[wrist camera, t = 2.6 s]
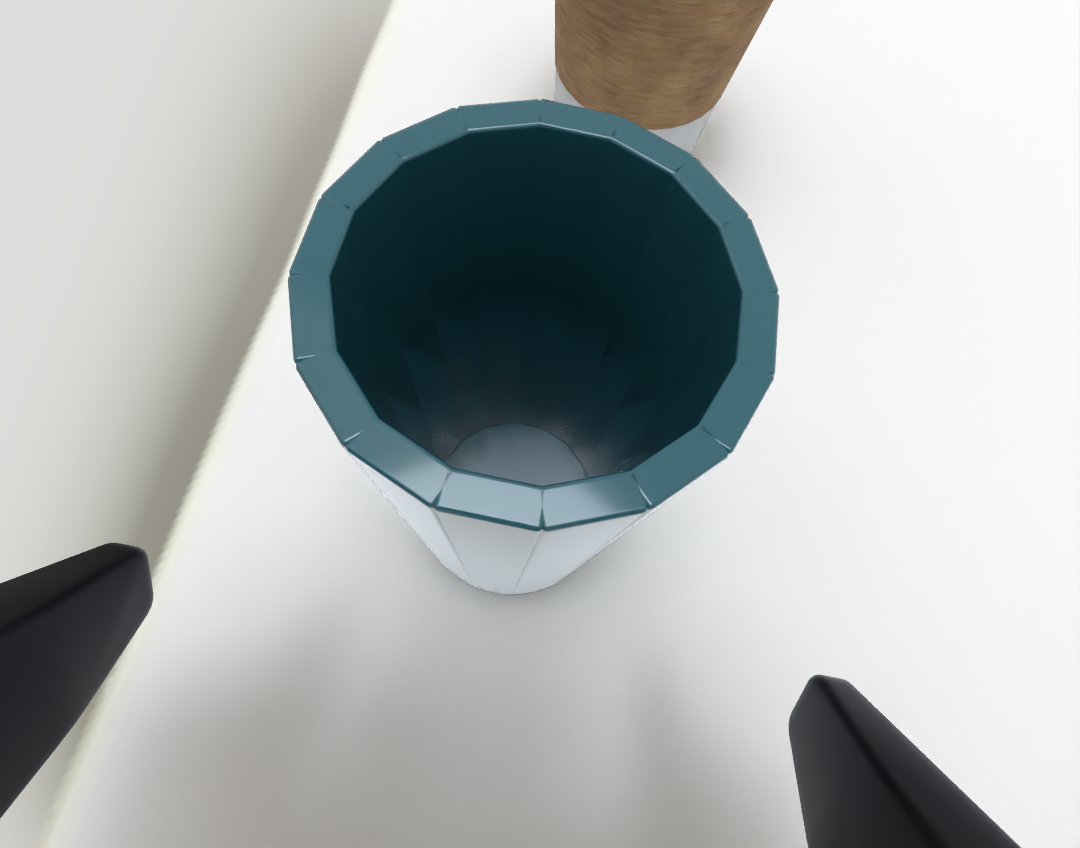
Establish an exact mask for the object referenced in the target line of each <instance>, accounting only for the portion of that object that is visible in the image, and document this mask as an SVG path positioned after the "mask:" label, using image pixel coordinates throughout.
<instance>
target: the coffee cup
mask: <svg viewBox="0 0 1080 848" xmlns="http://www.w3.org/2000/svg"><path fill="white" fill-rule="evenodd" d="M772 1H773V0H555V65H556V77H555V102H559V103H564V104H568V105H573V106H578V107H583V108H588V109H592V110H597V111H602V112H607V113H612V114H616V115H620V116H621V118H627V119H628V120H630V121H632V122H634V123H636V124H638V125H639V126H641V127H643V128H645V129H647V130H648V131H650V132H652V133H654V134H656V135H657V136H659V137H661V138H663V139H665V140H666V141H668V142H670V143H672V144H674V145H676V146H677V147H679V148H681V149H683V150H685V151H686V152H688V153H690V154H691V152H692V150H693V148H694V146H695V144H696V142H697V140H698V138H699V136H700V134H701V132H702V130H703V128H704V126H705V124H706V122H707V120H708V118H709V116H710V114H711V112H712V110H713V108H714V106H715V104H716V103H717V101H718V100H719V99H720V97H721V95H722V94H723V92H724V90H725V88H726V86H727V84H728V83H729V81H730V79H731V77H732V75H733V73H734V71H735V70H736V68H737V66H738V64H739V62H740V60H741V59H742V57H743V55H744V53H745V51H746V49H747V48H748V46H749V44H750V42H751V40H752V38H753V36H754V35H755V33H756V31H757V29H758V27H759V25H760V24H761V22H762V20H763V18H764V16H765V14H766V12H767V11H768V9H769V7H770V5H771V3H772Z"/></svg>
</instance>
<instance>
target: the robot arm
mask: <svg viewBox="0 0 1080 848" xmlns="http://www.w3.org/2000/svg"><path fill="white" fill-rule="evenodd" d="M152 602H153V588H152V581H151V575H150V568H149V562H148V556H147V554H146V552H145V551H144V550H143V549H141V548H139V547H135V546H130V545H124V544H119V543H108V544H104V545H102V546H99V547H96V548H94V549H91V550H88V551H86V552H83V553H80V554H78V555H75V556H72V557H70V558H67V559H64V560H62V561H59V562H56V563H54V564H51V565H48V566H46V567H43V568H40V569H38V570H35V571H33V572H30V573H27V574H24V575H22V576H19V577H16V578H14V579H11V580H8V581H6V582H3V583H0V818H1V817H2V816H3V814H4V813H5V812H6V810H7V809H8V808H9V807H10V806H11V804H12V803H13V802H14V800H15V799H16V798H17V797H18V795H19V794H20V793H21V792H22V790H23V789H24V788H25V786H26V785H27V784H28V783H29V782H30V780H31V779H32V778H33V776H34V775H35V774H36V773H37V772H38V770H39V769H40V768H41V766H42V765H43V764H44V763H45V761H46V760H47V759H48V758H49V756H50V755H51V754H52V752H53V751H54V750H55V749H56V748H57V746H58V745H59V744H60V742H61V741H62V740H63V739H64V737H65V736H66V735H67V733H68V732H69V731H70V729H71V728H72V727H73V725H74V724H75V723H76V721H77V720H78V718H79V717H80V716H81V714H82V713H83V711H84V710H85V708H86V707H87V705H88V704H89V703H90V701H91V699H92V698H93V696H94V695H95V693H96V692H97V690H98V689H99V687H100V686H101V684H102V683H103V681H104V680H105V678H106V677H107V675H108V674H109V672H110V671H111V669H112V668H113V666H114V665H115V663H116V661H117V660H118V658H119V657H120V655H121V654H122V652H123V651H124V649H125V648H126V646H127V645H128V643H129V642H130V640H131V639H132V637H133V636H134V634H135V633H136V631H137V629H138V628H139V626H140V625H141V623H142V622H143V620H144V619H145V617H146V616H147V614H148V612H149V610H150V608H151V605H152ZM789 736H790V742H791V748H792V754H793V760H794V766H795V772H796V778H797V784H798V790H799V796H800V802H801V808H802V814H803V820H804V826H805V832H806V838H807V843H808V848H1021V847H1020V846H1019V845H1018V844H1017V843H1016V842H1014V841H1013V840H1012V839H1011V838H1010V837H1009V836H1008V835H1007V834H1006V833H1005V832H1004V831H1003V830H1002V829H1001V828H1000V827H999V826H998V825H997V824H996V823H995V822H994V821H993V820H992V819H991V818H990V817H989V816H987V815H986V814H985V813H984V812H983V811H982V810H981V809H980V808H979V807H978V806H977V805H976V804H975V803H974V802H973V801H972V800H971V799H970V798H969V797H968V796H967V795H966V794H965V793H964V792H963V791H962V790H961V789H959V788H958V787H957V786H956V785H955V784H954V783H953V782H952V781H951V780H950V779H949V778H948V777H947V776H946V775H945V774H944V773H943V772H942V771H941V770H940V769H939V768H938V767H937V766H936V765H935V764H934V763H932V762H931V761H930V760H929V759H928V758H927V757H926V756H925V755H924V754H923V753H922V752H921V751H920V750H919V749H918V748H917V747H916V746H915V745H914V744H913V743H912V742H911V741H910V740H909V739H908V738H907V737H906V736H904V735H903V734H902V733H901V732H900V731H899V730H898V729H897V728H896V727H895V726H894V725H893V724H892V723H891V722H890V721H889V720H888V719H887V718H886V717H885V716H884V715H883V714H882V713H881V712H880V711H879V710H878V709H876V708H875V707H874V706H873V705H872V704H871V703H870V702H869V701H868V700H867V699H866V698H865V697H864V696H863V695H862V694H861V693H860V692H859V691H858V690H857V689H856V688H855V687H854V686H853V685H851V684H850V683H849V682H847V681H846V680H843V679H840V678H834V677H829V676H824V675H815V676H813V677H811V678H810V679H809V681H808V683H807V685H806V686H805V688H804V690H803V692H802V694H801V696H800V698H799V700H798V701H797V703H796V705H795V707H794V709H793V711H792V713H791V715H790V719H789Z"/></svg>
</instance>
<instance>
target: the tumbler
mask: <svg viewBox="0 0 1080 848" xmlns="http://www.w3.org/2000/svg"><path fill="white" fill-rule="evenodd" d="M288 287H289V301H290V316H291V330H292V344H293V358H294V361H295V363H296V369H297V371H298V372H299V374H300V376H301V378H302V379H303V381H304V383H305V384H306V386H307V388H308V389H309V391H310V393H311V394H312V396H313V398H314V400H315V401H316V403H317V405H318V406H319V408H320V410H321V411H322V413H323V415H324V417H325V418H326V420H327V422H328V423H329V425H330V427H331V428H332V430H333V432H334V433H335V435H336V437H337V439H338V440H339V442H340V444H341V445H342V446H343V447H344V449H345V450H346V451H347V452H348V453H349V455H350V456H351V457H352V458H353V459H354V460H355V462H356V463H357V464H358V465H359V466H360V468H361V469H362V470H363V471H364V472H365V473H366V475H367V476H368V477H369V478H370V479H371V481H372V482H373V483H374V484H375V485H376V486H377V488H378V489H379V490H380V491H381V492H382V494H383V495H384V496H385V497H386V498H387V500H388V501H389V502H390V503H391V504H392V505H393V507H394V508H395V509H396V510H397V511H398V513H399V514H400V515H401V516H402V517H403V518H404V520H405V521H406V522H407V523H408V524H409V526H410V527H411V528H412V529H413V530H414V531H415V533H416V534H417V535H418V536H419V537H420V539H421V540H422V541H423V542H424V543H425V544H426V546H427V547H428V548H429V549H430V550H431V552H432V553H433V554H434V555H435V556H436V558H437V559H438V560H439V561H440V562H441V563H442V564H443V566H445V567H446V568H447V569H449V570H450V571H451V572H453V573H454V574H455V575H456V576H458V577H459V578H460V579H462V580H464V581H465V582H467V583H468V584H470V585H472V586H475V587H476V588H479V589H482V590H485V591H489V592H493V593H499V594H509V595H511V594H513V595H515V594H524V593H531V592H534V591H538V590H541V589H544V588H549V587H550V586H553V585H554V584H556V583H557V582H559V581H560V580H561V579H563V578H564V577H566V576H567V575H569V574H570V573H571V572H573V571H574V570H576V569H577V568H579V567H580V566H581V565H583V564H584V563H585V562H587V561H588V560H590V559H591V558H592V557H594V556H595V555H596V554H598V553H599V552H600V551H602V550H603V549H604V548H606V547H607V546H609V545H610V544H611V543H613V542H614V541H615V540H617V539H618V538H619V537H621V536H622V535H623V534H625V533H626V532H627V531H629V530H630V529H632V528H633V527H634V526H636V525H637V524H638V523H640V522H641V521H642V520H644V519H645V518H646V517H648V516H649V515H651V514H652V513H653V512H655V511H656V510H657V509H659V508H660V507H661V506H663V505H664V504H665V503H667V502H668V501H670V500H671V499H672V498H674V497H675V496H676V495H678V494H679V493H680V492H682V491H683V490H684V489H686V488H687V487H688V486H690V485H691V484H693V483H694V482H695V481H697V480H698V479H699V478H701V477H702V476H703V475H705V474H706V473H707V472H709V471H710V470H712V469H713V468H714V467H716V466H717V465H718V464H720V463H721V462H722V461H724V460H725V459H726V458H727V457H728V455H729V454H731V453H732V452H733V451H734V449H735V447H736V446H737V444H738V442H739V440H740V439H741V437H742V435H743V433H744V431H745V430H746V428H747V426H748V424H749V423H750V421H751V419H752V417H753V415H754V414H755V412H756V410H757V408H758V407H759V405H760V403H761V401H762V399H763V398H764V396H765V394H766V392H767V391H768V389H769V387H770V385H771V383H772V382H773V379H774V376H773V375H774V374H775V363H776V345H777V327H778V308H779V294H777V293H778V287H777V285H776V282H775V280H774V277H773V275H772V272H771V269H770V267H769V264H768V262H767V259H766V256H765V254H764V251H763V249H762V246H761V244H760V241H759V238H758V236H757V233H756V231H755V228H754V226H753V223H752V220H751V219H750V218H748V214H747V213H746V212H745V210H744V209H743V208H742V207H741V206H740V205H739V204H738V203H737V202H736V201H735V200H734V198H733V197H732V196H731V195H730V194H729V193H728V192H727V191H726V190H725V189H724V188H723V186H722V185H721V184H720V183H719V182H718V181H717V180H716V179H715V178H714V177H713V175H712V174H711V173H710V172H709V171H708V170H707V169H706V168H705V167H704V166H703V165H702V163H701V162H700V161H699V160H698V159H697V158H693V156H692V154H690V153H688V152H686V151H685V150H683V149H681V148H679V147H677V146H676V145H674V144H672V143H670V142H668V141H666V140H665V139H663V138H661V137H659V136H657V135H656V134H654V133H652V132H650V131H648V130H647V129H645V128H643V127H641V126H639V125H638V124H636V123H634V122H632V121H630V120H628V119H627V118H621V116H620V115H616V114H612V113H607V112H602V111H597V110H592V109H588V108H583V107H578V106H573V105H568V104H564V103H559V102H554V101H549V100H545V99H542V100H540V101H539V100H537V99H533V100H522V101H511V102H500V103H489V104H478V105H466V106H460V107H458V109H456V108H452V109H449V110H447V111H445V112H442V113H440V114H438V115H435V116H433V117H431V118H428V119H426V120H424V121H421V122H419V123H417V124H414V125H412V126H410V127H407V128H405V129H403V130H400V131H398V132H396V133H393V134H391V135H389V136H386V137H384V138H383V139H382V140H381V141H377V142H376V143H375V144H374V145H373V146H372V147H371V148H370V149H369V150H368V151H367V152H366V153H365V154H364V155H363V156H362V157H361V158H359V159H358V160H357V161H356V162H355V163H354V164H353V165H352V166H351V167H350V168H349V169H348V170H347V171H346V172H345V173H344V174H343V175H342V176H341V177H340V178H339V179H338V180H337V181H336V182H334V183H333V184H332V185H331V186H330V187H329V188H328V189H327V190H326V191H325V192H324V193H323V194H322V197H321V199H319V200H318V203H317V205H316V208H315V210H314V213H313V215H312V217H311V220H310V222H309V225H308V227H307V230H306V232H305V234H304V237H303V239H302V242H301V244H300V247H299V249H298V251H297V254H296V256H295V259H294V261H293V264H292V266H291V268H290V276H289V278H288Z"/></svg>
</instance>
